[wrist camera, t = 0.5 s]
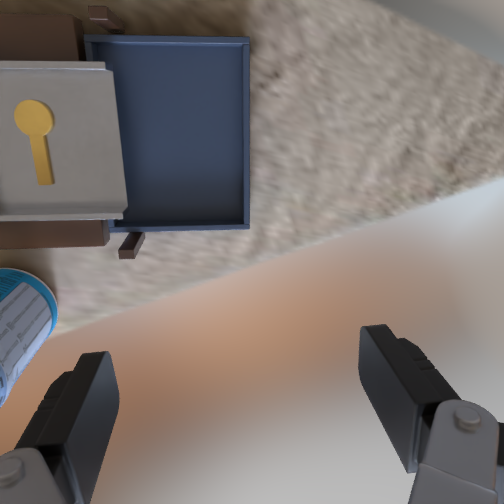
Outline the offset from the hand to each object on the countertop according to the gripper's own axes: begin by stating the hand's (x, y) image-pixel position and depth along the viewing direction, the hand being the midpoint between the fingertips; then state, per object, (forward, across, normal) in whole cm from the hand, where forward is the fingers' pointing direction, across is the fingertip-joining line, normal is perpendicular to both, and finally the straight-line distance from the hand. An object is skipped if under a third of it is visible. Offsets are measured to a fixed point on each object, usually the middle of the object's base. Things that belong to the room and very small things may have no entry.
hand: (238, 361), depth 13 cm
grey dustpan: (+22, +16, -6) cm, 28 cm away
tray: (+24, +4, -5) cm, 25 cm away
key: (+22, +14, -6) cm, 26 cm away
